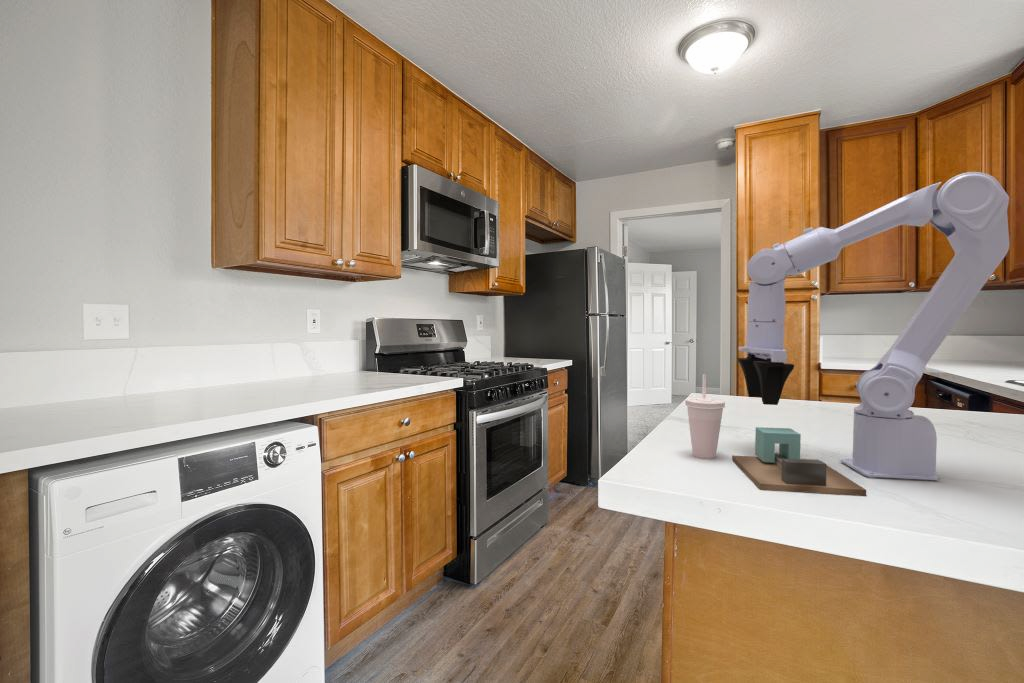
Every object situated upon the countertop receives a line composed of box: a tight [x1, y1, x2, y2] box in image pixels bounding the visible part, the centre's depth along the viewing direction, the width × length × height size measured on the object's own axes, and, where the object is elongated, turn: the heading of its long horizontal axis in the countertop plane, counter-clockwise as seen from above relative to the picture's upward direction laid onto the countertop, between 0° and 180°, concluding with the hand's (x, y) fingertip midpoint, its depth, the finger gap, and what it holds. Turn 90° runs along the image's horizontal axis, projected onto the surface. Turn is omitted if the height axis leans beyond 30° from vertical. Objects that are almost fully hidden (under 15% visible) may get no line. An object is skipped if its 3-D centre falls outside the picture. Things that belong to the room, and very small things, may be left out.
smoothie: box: [684, 374, 726, 460], centre depth 80 cm, size 6×6×14 cm
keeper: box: [754, 426, 802, 463], centre depth 74 cm, size 5×4×5 cm
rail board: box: [731, 452, 867, 497], centre depth 70 cm, size 13×14×4 cm
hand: (762, 400), depth 81 cm, fingers open, 7 cm apart
